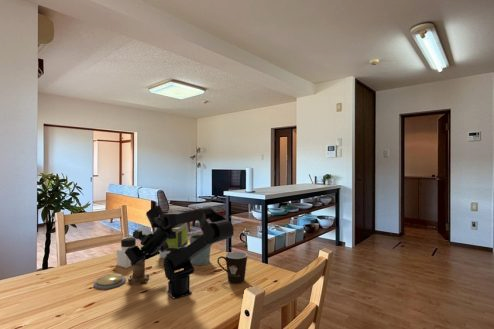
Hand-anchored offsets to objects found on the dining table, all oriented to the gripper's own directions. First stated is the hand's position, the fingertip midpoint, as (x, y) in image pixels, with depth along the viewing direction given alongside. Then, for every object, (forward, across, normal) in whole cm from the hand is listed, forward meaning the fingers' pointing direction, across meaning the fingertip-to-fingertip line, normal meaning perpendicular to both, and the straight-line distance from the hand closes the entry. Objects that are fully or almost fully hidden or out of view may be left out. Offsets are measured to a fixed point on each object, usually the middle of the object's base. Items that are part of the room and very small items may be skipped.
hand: (136, 262), depth 109 cm
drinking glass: (-4, -28, +14) cm, 31 cm away
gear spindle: (+4, 0, +6) cm, 7 cm away
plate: (+10, +6, 0) cm, 11 cm away
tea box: (+9, -33, +1) cm, 35 cm away
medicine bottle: (+16, -12, -6) cm, 21 cm away
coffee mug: (-20, -15, +30) cm, 39 cm away
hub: (+10, +6, 0) cm, 11 cm away
